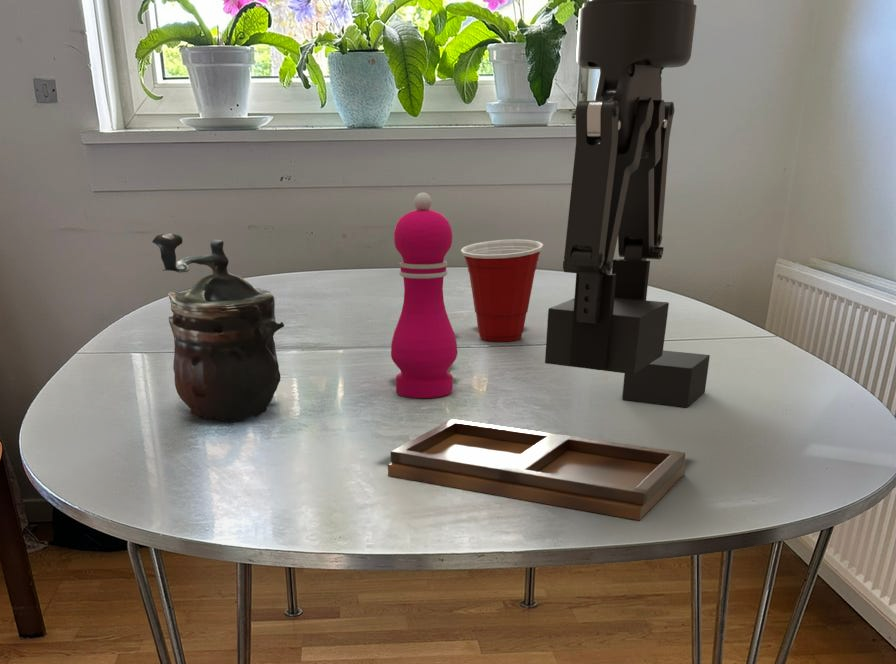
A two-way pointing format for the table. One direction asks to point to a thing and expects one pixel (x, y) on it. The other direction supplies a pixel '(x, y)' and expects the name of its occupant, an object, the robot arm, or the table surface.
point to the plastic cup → (501, 285)
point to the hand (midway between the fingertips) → (606, 356)
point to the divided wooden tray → (541, 467)
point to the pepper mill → (423, 305)
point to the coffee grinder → (221, 338)
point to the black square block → (613, 334)
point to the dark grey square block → (669, 380)
